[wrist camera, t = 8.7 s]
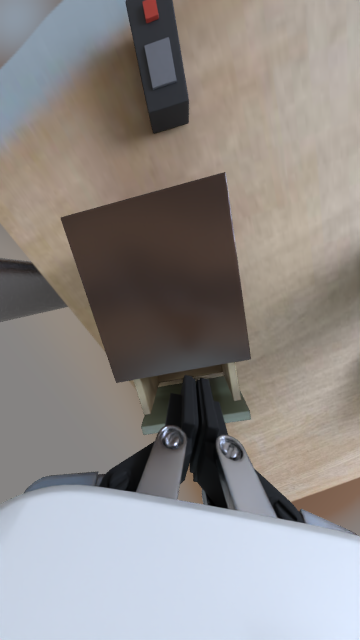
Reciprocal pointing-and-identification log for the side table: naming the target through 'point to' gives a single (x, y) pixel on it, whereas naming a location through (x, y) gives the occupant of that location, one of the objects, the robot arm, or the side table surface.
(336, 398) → the side table surface
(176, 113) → the remote
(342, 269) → the side table surface
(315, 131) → the side table surface
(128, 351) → the cabinet
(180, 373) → the drawer
